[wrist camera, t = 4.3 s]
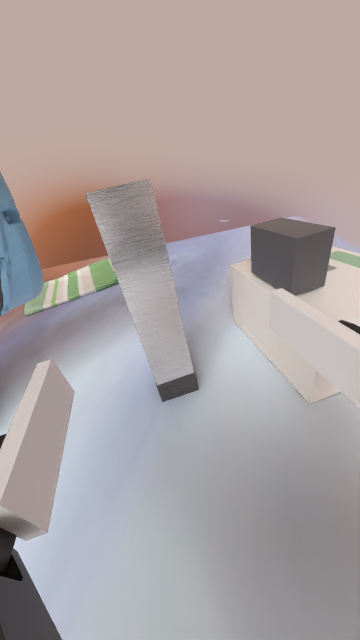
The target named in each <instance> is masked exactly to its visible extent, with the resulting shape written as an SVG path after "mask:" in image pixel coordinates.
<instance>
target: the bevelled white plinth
mask: <svg viewBox="0 0 360 640" xmlns="http://www.w3.org/2000/svg"><path fill="white" fill-rule="evenodd" d="M230 278H231V292H232V306H233V321H234V322H235V323H236V324H237V325H238V326H239V327H240V329H241V330H242V331H243V332H244V333H245V334H246V335H247V336H248V337H249V338H250V339H251V341H252V342H253V343H254V344H255V345H256V346H257V347H258V348H259V349H260V350H261V352H262V353H263V354H264V355H265V356H266V357H267V358H268V359H269V360H270V361H271V363H272V364H273V365H274V366H275V367H276V368H277V369H278V370H279V371H280V372H281V374H282V375H283V376H284V377H285V378H286V379H287V380H288V381H289V382H290V383H291V384H292V386H293V387H294V388H295V389H296V390H297V391H298V392H299V393H300V394H301V395H302V397H303V398H304V399H305V400H306V401H307V402H308V403H309V404H311V403H314V402H316V401H319V400H321V399H324V398H327V397H329V396H332V395H334V394H337V393H340V391H339V390H338V389H337V388H336V387H334V386H333V385H332V384H331V383H330V382H329V381H328V380H327V379H326V378H324V377H323V376H322V375H321V374H320V373H319V372H318V371H317V370H316V369H314V368H313V367H312V366H311V365H310V364H309V363H308V362H307V361H306V360H304V359H303V358H302V357H301V356H300V355H299V354H298V353H297V352H296V351H294V350H293V349H292V348H291V347H290V346H289V345H288V344H287V343H286V342H284V341H283V340H282V339H281V338H280V337H279V336H278V335H277V334H276V333H275V332H273V331H272V330H271V329H270V328H269V316H270V291H273V290H277V289H278V288H276V287H275V286H273V285H271V284H270V283H268V282H266V281H265V280H263V279H261V278H260V277H258V276H257V275H255V274H253V273H252V272H251V259H249V260H245V261H242V262H238V263H235V264H232V265H230ZM295 296H296V297H298V298H299V299H301V300H303V301H305V302H306V303H308V304H310V305H311V306H313V307H315V308H316V309H318V310H320V311H321V312H323V313H325V314H326V315H328V316H330V317H331V318H333V319H335V320H336V321H340V320H344V321H347V322H350V323H353V324H356V325H357V326H359V327H360V254H359V253H355V252H352V251H348V250H344V249H340V248H337V247H333V246H332V248H331V254H330V259H329V265H328V270H327V275H326V281H325V286H323V287H320V288H317V289H314V290H310V291H307V292H304V293H301V294H298V295H295Z"/></svg>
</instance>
